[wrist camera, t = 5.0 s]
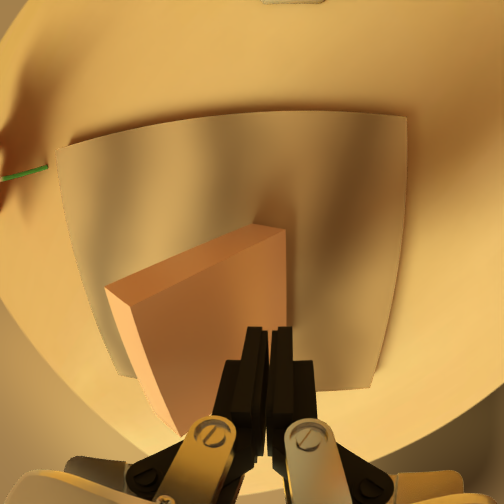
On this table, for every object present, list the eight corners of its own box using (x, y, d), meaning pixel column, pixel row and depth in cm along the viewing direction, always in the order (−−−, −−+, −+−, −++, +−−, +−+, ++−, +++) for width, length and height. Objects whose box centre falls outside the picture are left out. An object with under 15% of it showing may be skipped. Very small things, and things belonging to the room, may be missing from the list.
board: (398, 118, 13) (406, 116, 11) (367, 376, 19) (369, 387, 18) (66, 148, 15) (55, 149, 14) (124, 366, 22) (118, 375, 21)
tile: (285, 229, 13) (130, 306, 8) (286, 346, 16) (180, 437, 10) (249, 223, 15) (102, 285, 9) (256, 334, 17) (152, 411, 12)
